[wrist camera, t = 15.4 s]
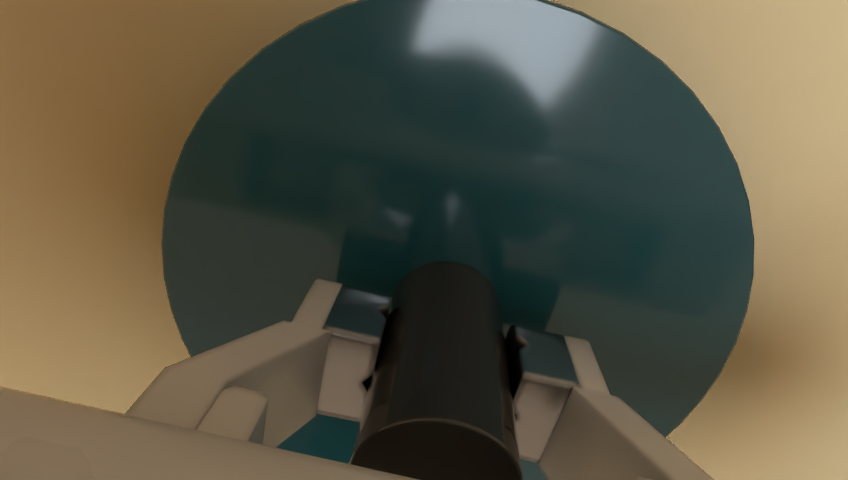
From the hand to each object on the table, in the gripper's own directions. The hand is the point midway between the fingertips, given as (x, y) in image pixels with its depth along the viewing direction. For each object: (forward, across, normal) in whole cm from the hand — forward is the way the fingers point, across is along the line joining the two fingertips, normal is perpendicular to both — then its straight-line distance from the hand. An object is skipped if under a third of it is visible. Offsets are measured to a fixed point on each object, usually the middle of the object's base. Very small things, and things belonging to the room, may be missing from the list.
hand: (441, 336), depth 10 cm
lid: (+2, 0, 0) cm, 2 cm away
